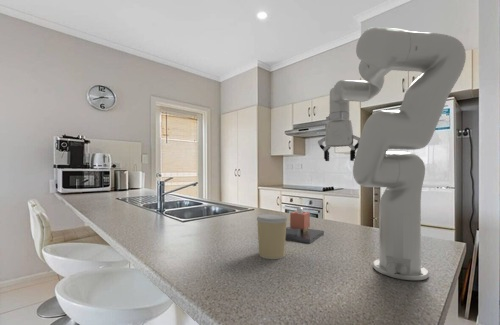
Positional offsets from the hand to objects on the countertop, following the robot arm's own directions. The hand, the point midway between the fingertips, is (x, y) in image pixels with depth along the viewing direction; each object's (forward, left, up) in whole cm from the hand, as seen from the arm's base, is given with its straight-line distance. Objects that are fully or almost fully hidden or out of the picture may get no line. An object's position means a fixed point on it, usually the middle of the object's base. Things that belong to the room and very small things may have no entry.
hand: (339, 160), depth 103 cm
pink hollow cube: (-5, +14, -27) cm, 31 cm away
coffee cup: (-34, +12, -31) cm, 47 cm away
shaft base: (-7, +13, -30) cm, 34 cm away
